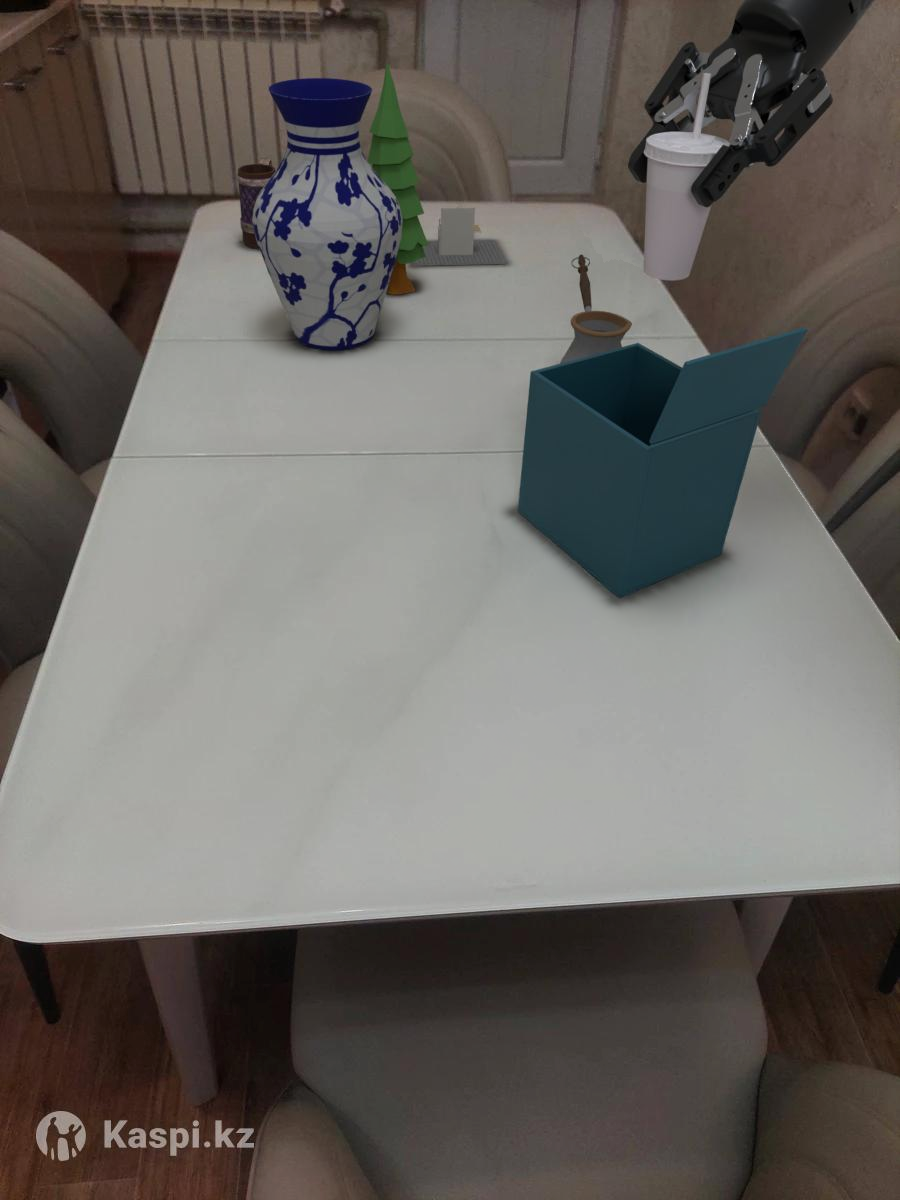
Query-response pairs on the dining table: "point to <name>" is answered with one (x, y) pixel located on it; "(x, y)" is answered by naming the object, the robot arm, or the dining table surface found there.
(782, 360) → the flap
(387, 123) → the decorative tree
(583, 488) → the open storage box
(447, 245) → the napkin holder
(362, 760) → the dining table surface
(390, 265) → the vase
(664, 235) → the smoothie
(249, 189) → the mug
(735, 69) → the robot arm
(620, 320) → the coffee pot
